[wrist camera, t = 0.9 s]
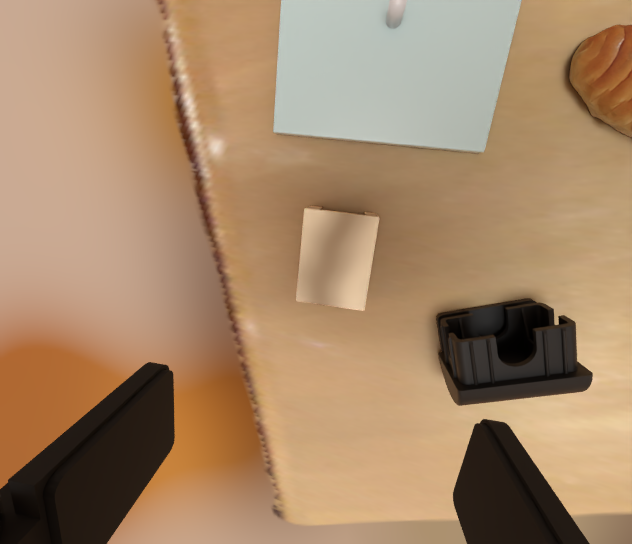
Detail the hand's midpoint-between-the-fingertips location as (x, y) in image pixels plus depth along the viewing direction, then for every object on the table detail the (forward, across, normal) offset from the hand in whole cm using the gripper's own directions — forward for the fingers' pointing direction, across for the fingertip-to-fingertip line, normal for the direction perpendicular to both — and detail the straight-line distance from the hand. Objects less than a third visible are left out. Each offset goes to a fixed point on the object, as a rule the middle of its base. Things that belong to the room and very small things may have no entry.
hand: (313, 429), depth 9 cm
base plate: (+21, -2, -22) cm, 31 cm away
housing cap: (+22, 0, -2) cm, 22 cm away
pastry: (+22, -21, -17) cm, 34 cm away
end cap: (+22, -16, +5) cm, 27 cm away
